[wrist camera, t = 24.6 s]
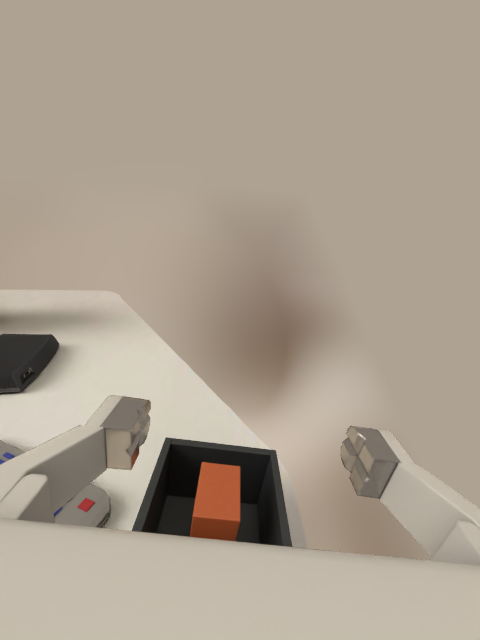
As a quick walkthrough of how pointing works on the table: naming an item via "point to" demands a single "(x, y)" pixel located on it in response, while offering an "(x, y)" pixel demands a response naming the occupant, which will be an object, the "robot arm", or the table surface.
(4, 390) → the hard drive
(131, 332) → the table surface
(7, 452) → the remote control
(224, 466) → the orange rectangular block
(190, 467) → the trash bin
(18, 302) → the table surface
